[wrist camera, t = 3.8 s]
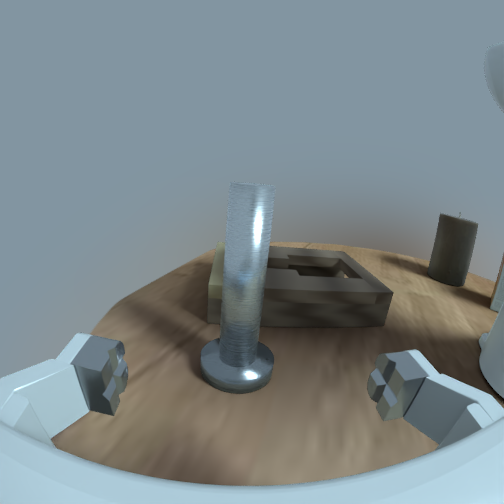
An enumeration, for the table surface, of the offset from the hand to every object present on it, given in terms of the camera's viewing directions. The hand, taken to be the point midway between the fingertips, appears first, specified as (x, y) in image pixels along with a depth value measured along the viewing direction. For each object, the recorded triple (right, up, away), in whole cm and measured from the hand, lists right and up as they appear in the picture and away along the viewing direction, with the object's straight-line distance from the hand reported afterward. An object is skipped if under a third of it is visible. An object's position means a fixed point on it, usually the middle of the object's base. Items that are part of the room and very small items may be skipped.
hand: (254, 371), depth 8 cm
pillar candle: (+43, -2, +43) cm, 61 cm away
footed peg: (-1, -6, +14) cm, 16 cm away
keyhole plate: (+5, -2, +30) cm, 31 cm away
